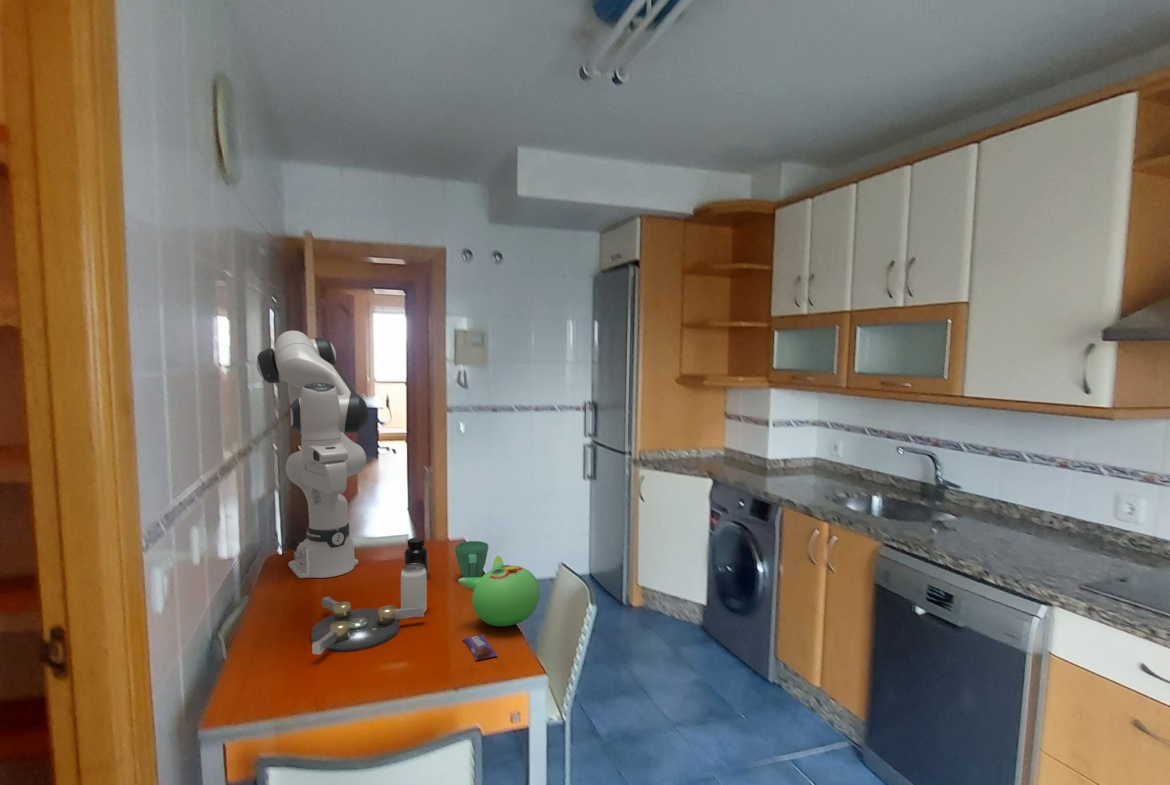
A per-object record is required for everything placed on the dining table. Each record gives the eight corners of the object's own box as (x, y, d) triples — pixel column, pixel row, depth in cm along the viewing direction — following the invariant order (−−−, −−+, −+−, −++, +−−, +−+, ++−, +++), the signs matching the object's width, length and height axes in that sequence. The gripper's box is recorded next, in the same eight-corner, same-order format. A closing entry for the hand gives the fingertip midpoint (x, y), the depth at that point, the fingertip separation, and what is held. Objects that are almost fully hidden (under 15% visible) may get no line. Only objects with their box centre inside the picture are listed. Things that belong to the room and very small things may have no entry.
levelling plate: (296, 633, 148) (296, 620, 148) (372, 607, 163) (372, 596, 163) (337, 660, 135) (337, 647, 135) (416, 630, 150) (415, 618, 150)
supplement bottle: (400, 578, 185) (400, 539, 184) (421, 573, 189) (421, 534, 189) (410, 584, 180) (410, 544, 179) (432, 579, 184) (431, 539, 184)
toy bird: (510, 643, 144) (511, 582, 143) (455, 627, 152) (455, 569, 151) (551, 615, 159) (552, 560, 158) (499, 602, 168) (499, 549, 167)
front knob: (337, 632, 144) (336, 620, 144) (352, 634, 144) (352, 621, 143) (307, 654, 134) (307, 641, 134) (324, 656, 133) (324, 642, 133)
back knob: (353, 616, 154) (353, 604, 153) (338, 621, 151) (338, 609, 150) (332, 604, 161) (332, 593, 161) (317, 609, 158) (317, 597, 158)
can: (419, 618, 157) (419, 571, 156) (396, 615, 158) (395, 569, 158) (430, 607, 163) (430, 563, 163) (408, 605, 165) (408, 561, 164)
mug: (454, 574, 189) (454, 542, 188) (487, 571, 191) (487, 540, 191) (456, 591, 175) (455, 557, 174) (490, 589, 177) (490, 555, 176)
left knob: (378, 625, 149) (378, 613, 148) (378, 618, 152) (378, 606, 152) (424, 619, 152) (424, 607, 152) (423, 613, 156) (423, 601, 156)
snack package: (461, 634, 145) (482, 630, 147) (461, 642, 145) (482, 638, 147) (476, 656, 135) (497, 651, 137) (476, 664, 135) (497, 660, 137)
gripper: (293, 448, 154) (296, 503, 154) (323, 456, 138) (325, 517, 139) (319, 445, 158) (321, 499, 158) (351, 453, 143) (353, 512, 143)
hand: (323, 507), depth 149 cm, fingers open, 8 cm apart
